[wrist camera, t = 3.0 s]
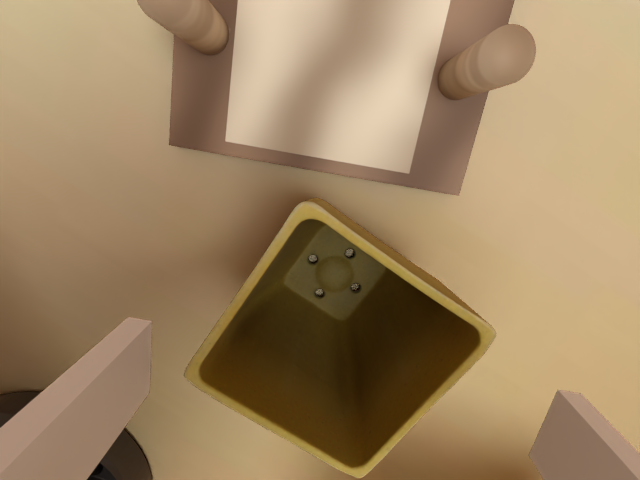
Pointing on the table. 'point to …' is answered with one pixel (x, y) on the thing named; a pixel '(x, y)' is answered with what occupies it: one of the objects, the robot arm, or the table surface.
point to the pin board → (341, 82)
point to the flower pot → (338, 342)
